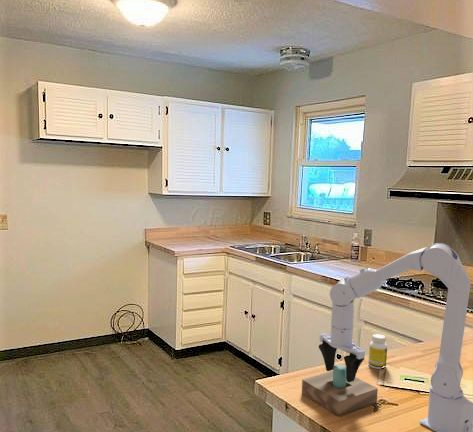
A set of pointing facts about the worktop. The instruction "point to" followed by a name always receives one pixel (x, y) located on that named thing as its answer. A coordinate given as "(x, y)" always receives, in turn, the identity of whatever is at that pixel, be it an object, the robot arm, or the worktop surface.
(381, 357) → the supplement bottle
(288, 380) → the worktop surface
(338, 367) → the teal pin
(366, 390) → the socket block
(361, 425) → the worktop surface
